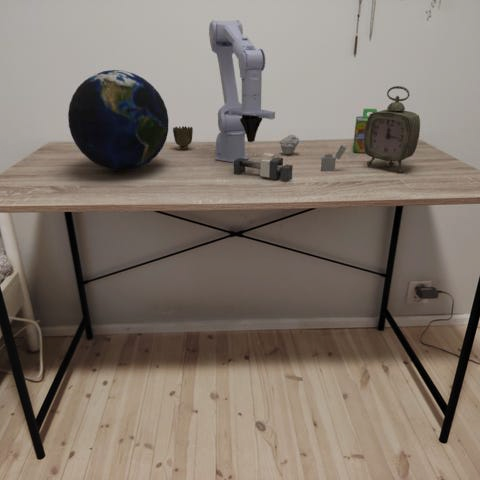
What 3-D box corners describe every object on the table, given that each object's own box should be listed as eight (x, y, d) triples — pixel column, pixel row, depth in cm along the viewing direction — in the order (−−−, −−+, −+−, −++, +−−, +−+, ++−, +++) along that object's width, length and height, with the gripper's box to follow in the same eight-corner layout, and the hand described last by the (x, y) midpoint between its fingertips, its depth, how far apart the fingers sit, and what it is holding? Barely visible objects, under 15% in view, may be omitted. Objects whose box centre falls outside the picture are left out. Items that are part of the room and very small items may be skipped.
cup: (192, 151, 162) (191, 129, 158) (172, 151, 162) (171, 129, 159) (194, 146, 169) (193, 125, 165) (175, 146, 169) (174, 125, 165)
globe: (124, 152, 161) (114, 65, 148) (190, 164, 147) (185, 68, 134) (56, 173, 138) (36, 72, 125) (126, 189, 124) (112, 76, 111)
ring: (269, 178, 130) (269, 161, 128) (276, 173, 134) (277, 157, 132) (275, 179, 129) (275, 162, 127) (282, 174, 134) (283, 157, 131)
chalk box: (352, 153, 159) (357, 110, 152) (352, 147, 167) (356, 106, 160) (379, 154, 157) (384, 111, 151) (377, 148, 165) (383, 107, 159)
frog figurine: (298, 156, 154) (299, 137, 151) (278, 156, 155) (279, 136, 152) (298, 152, 160) (299, 133, 157) (279, 152, 161) (280, 132, 158)
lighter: (321, 171, 139) (323, 146, 135) (320, 169, 140) (322, 144, 137) (344, 171, 139) (346, 145, 135) (343, 169, 140) (345, 144, 137)
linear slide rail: (233, 173, 137) (233, 160, 135) (239, 170, 139) (239, 157, 138) (287, 182, 129) (287, 167, 127) (291, 178, 132) (292, 164, 130)
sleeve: (260, 176, 132) (260, 155, 129) (267, 171, 135) (267, 152, 133) (269, 177, 130) (270, 157, 128) (276, 173, 134) (276, 153, 131)
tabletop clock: (360, 166, 143) (370, 85, 132) (374, 160, 149) (384, 83, 138) (403, 175, 134) (417, 89, 123) (415, 169, 140) (429, 86, 129)
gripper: (222, 94, 127) (223, 141, 133) (267, 98, 121) (266, 146, 127) (235, 91, 133) (235, 136, 139) (278, 94, 127) (277, 141, 133)
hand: (251, 141), depth 133 cm, fingers closed
